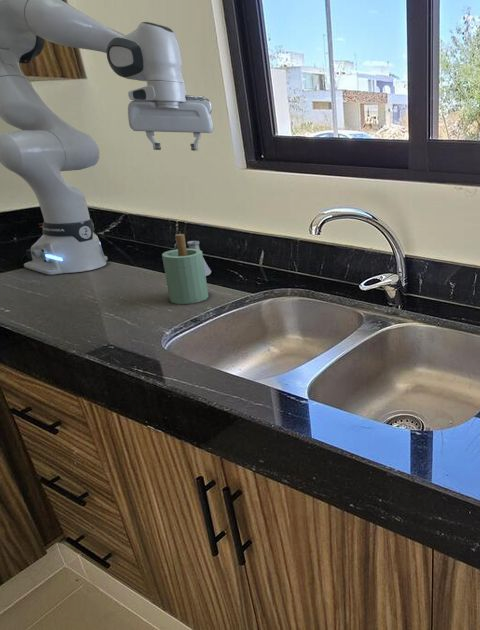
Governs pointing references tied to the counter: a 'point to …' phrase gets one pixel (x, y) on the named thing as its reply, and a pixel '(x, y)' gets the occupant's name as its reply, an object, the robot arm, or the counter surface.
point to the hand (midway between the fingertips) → (176, 150)
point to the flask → (207, 271)
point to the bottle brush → (181, 245)
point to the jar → (185, 276)
